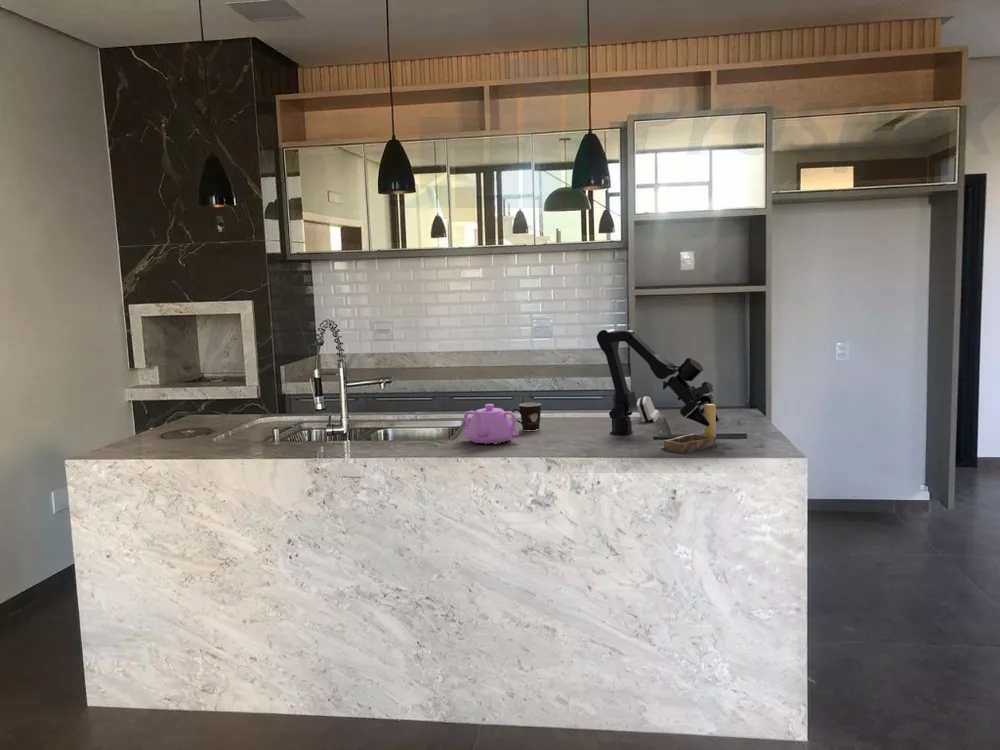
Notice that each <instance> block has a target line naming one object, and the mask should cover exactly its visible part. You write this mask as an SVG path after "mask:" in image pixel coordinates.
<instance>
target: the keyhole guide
mask: <svg viewBox="0 0 1000 750" xmlns="http://www.w3.org/2000/svg"><path fill="white" fill-rule="evenodd" d="M716 439H717V436H716V437H711V436H706V435H704V434H700V433H690V434H686V435H685V434H684V435H681V436H680V435H679V436H677V437H674V438H670V439H665V440H663V446H661V447H660V449H661V450H664V449H665V450H664V451H668V452H669V451H670V452H673V451H674V452H673V453H677V452H678V454H683V455H684V454H690V453H693V452H697V450H698V451H701V449H702V450H705V448H707V449H710V448H709V447H711V448H714V447H713V446H715V447H717V446H718V444H717V441H716Z"/></svg>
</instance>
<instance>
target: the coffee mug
mask: <svg viewBox="0 0 1000 750" xmlns="http://www.w3.org/2000/svg"><path fill="white" fill-rule="evenodd" d="M518 407H519V409H518V408H514V409H513V410H511V412H512V413H514V412H516V411H517V412H519V414H520V420H521V421H520V420H519V419H516V423H517V422H518V423H519V424H521V426H522V430H523V429H524V430H536V429H539V430H540V427H541V426H540V425H541V415H542V414H541V412H542V411H541V410H542V403H539V402H525V403H524V402H523V403H520V404H518Z"/></svg>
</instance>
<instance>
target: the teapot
mask: <svg viewBox="0 0 1000 750" xmlns="http://www.w3.org/2000/svg"><path fill="white" fill-rule="evenodd" d="M469 414H471V415H472V416H471V418H470V420H469V417H468V416H469ZM463 415H464V416H463V420H464V424H465V426H464V427H463V428H462V433H463V434H464V435H466V436H467V438H468V439H469V440H470V441H471V442H472V443H474V442H475V443H474V444H477V443H485V444H484V445H490V444H489V443H499V444H502V443H501V442H503V443H506V442H505V441H507V442H509V441H510V439H511V438H512V437H517V436H518V435H519V434H520V433H519V432H520V431H519V430H518V428H515V427H516V424H517V421H516V420H517V415H516V414H515V413H514V412H513V413H512V411H508V410H507V411H505V410H504V409H503V408H499V407H495V404H494V403H486V404H484V407H483V408H479V409H476V410H468V411H466V412H465V413H464V414H463ZM509 416H511V418H512V420H511V419H510V417H509ZM508 440H509V441H508ZM487 443H488V444H487Z"/></svg>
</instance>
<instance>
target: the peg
mask: <svg viewBox="0 0 1000 750" xmlns="http://www.w3.org/2000/svg"><path fill="white" fill-rule="evenodd" d="M716 407H717V405H716V404H714V403H713V404H704V414H703V415H704V416H705V418H706V419H707V421H708V422H709V424H710V425H709V426H708V427H707V426H705V425H703V435H706V436H711V437H716V438H717V434H716V432H717V431H716V429H717V428H716V426H717V422H716V414H717V410H716V409H717V408H716Z"/></svg>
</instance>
